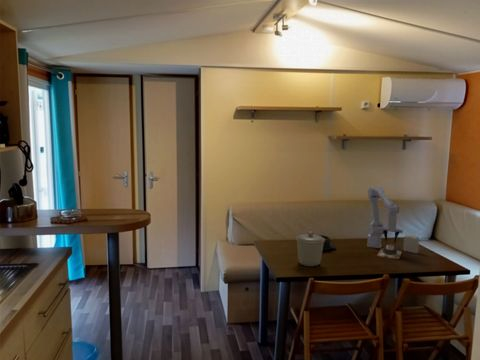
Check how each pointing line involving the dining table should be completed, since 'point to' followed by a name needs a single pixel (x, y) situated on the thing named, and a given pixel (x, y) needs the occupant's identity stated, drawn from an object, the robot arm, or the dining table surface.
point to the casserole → (327, 243)
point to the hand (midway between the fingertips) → (390, 241)
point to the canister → (309, 249)
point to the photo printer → (411, 243)
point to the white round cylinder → (390, 247)
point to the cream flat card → (389, 253)
